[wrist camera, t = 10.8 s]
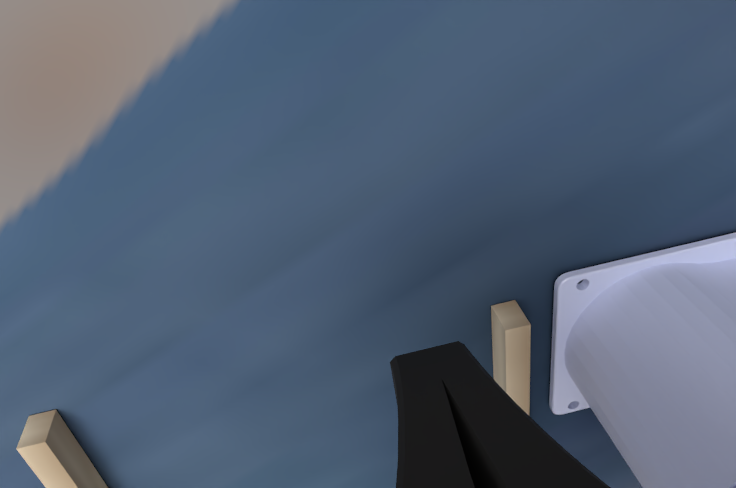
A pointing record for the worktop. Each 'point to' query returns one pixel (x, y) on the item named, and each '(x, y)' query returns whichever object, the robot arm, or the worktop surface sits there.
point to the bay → (84, 484)
